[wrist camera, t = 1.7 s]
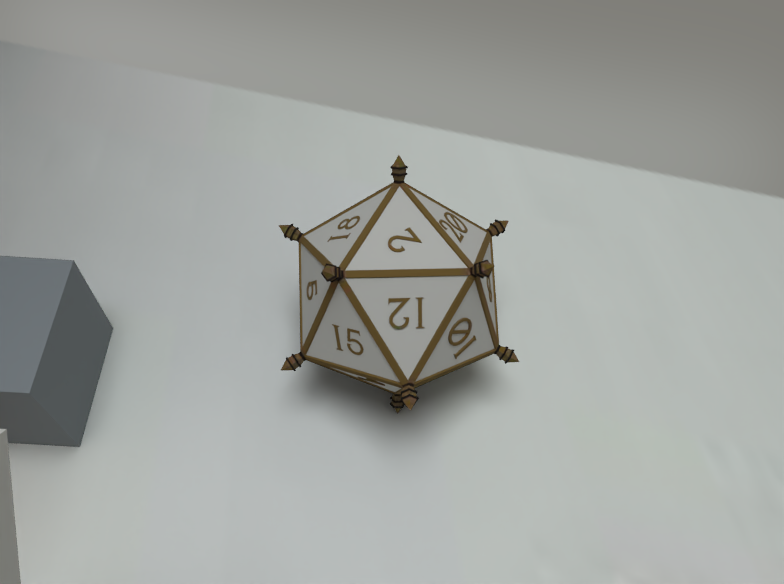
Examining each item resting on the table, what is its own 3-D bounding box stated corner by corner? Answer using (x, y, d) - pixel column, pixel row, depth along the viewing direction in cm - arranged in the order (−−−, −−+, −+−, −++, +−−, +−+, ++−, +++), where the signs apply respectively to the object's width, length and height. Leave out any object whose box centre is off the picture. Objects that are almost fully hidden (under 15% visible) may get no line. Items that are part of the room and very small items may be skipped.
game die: (368, 346, 34) (366, 128, 30) (543, 393, 29) (565, 146, 26) (235, 436, 26) (210, 163, 23) (441, 515, 22) (451, 198, 19)
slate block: (-11, 321, 29) (-72, 251, 25) (113, 329, 29) (73, 260, 25) (-56, 439, 27) (-134, 383, 22) (80, 447, 27) (29, 393, 22)
